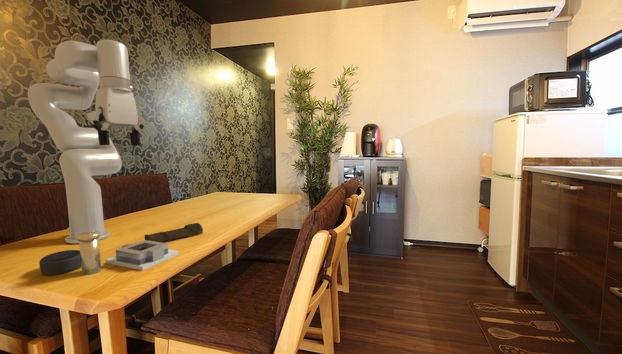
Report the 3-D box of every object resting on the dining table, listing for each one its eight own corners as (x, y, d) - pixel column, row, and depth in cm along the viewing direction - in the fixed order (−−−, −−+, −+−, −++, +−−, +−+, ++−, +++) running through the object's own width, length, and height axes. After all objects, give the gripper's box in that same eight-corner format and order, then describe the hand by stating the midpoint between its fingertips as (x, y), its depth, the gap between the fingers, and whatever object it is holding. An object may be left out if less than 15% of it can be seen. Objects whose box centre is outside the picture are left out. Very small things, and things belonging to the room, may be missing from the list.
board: (106, 263, 79) (106, 259, 79) (145, 248, 91) (144, 245, 91) (142, 270, 74) (142, 266, 74) (179, 254, 86) (178, 251, 85)
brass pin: (75, 274, 73) (71, 235, 72) (95, 266, 77) (92, 230, 76) (87, 276, 71) (84, 237, 70) (107, 269, 75) (104, 232, 74)
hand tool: (147, 248, 92) (146, 233, 92) (144, 244, 95) (143, 231, 95) (205, 235, 105) (205, 223, 104) (201, 233, 108) (200, 221, 107)
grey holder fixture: (107, 259, 80) (107, 248, 80) (137, 248, 88) (136, 238, 88) (144, 265, 75) (143, 254, 75) (172, 254, 83) (171, 243, 83)
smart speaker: (70, 261, 82) (69, 247, 81) (92, 264, 79) (91, 250, 78) (32, 274, 73) (30, 259, 73) (55, 278, 71) (53, 263, 70)
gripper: (133, 93, 93) (137, 146, 95) (74, 81, 77) (81, 145, 78) (150, 90, 91) (155, 145, 92) (93, 78, 74) (100, 144, 76)
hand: (121, 145), depth 85 cm, fingers open, 9 cm apart
